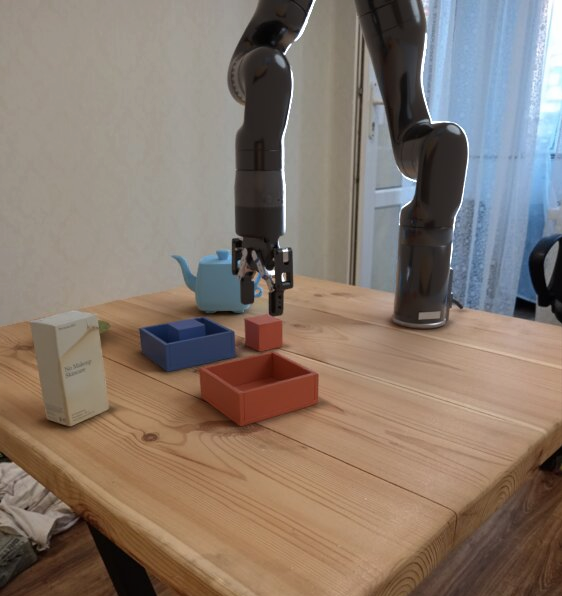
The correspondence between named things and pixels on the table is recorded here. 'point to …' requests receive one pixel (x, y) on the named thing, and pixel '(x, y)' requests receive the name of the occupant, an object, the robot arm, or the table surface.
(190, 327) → the blue block
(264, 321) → the red block
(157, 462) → the table surface
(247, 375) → the red bin
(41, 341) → the cosmetic box
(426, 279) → the robot arm
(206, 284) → the teapot
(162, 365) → the blue bin
